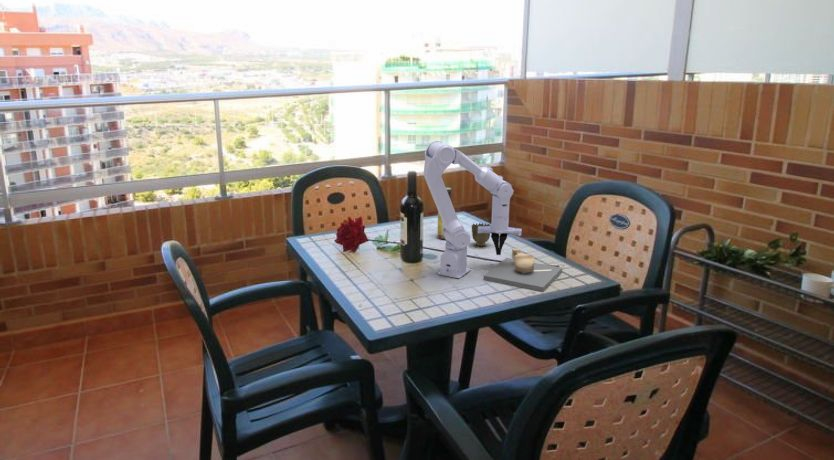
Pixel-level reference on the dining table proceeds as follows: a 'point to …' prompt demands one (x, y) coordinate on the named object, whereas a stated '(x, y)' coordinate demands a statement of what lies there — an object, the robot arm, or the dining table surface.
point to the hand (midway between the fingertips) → (498, 254)
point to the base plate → (523, 275)
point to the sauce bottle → (440, 228)
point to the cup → (480, 235)
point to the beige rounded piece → (522, 261)
